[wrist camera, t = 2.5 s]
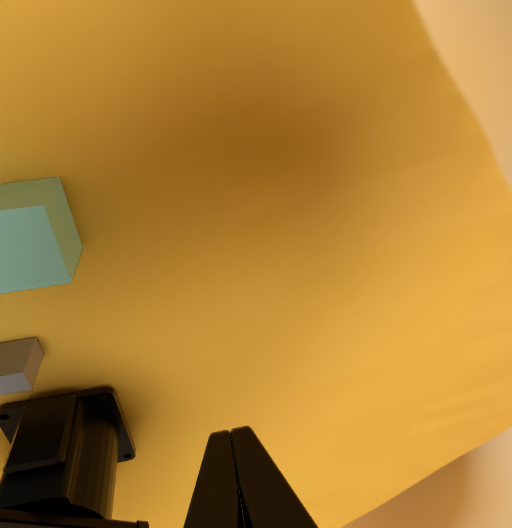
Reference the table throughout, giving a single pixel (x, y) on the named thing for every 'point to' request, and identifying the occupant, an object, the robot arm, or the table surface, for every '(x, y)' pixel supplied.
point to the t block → (36, 236)
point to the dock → (19, 365)
